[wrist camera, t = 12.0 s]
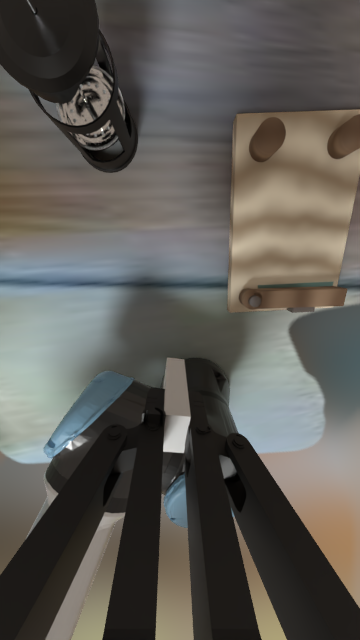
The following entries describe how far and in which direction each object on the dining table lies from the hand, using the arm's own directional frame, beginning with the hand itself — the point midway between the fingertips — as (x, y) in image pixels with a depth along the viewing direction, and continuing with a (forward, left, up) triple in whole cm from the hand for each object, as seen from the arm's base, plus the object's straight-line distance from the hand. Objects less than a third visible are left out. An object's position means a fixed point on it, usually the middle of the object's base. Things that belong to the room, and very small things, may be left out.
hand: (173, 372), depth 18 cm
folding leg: (+2, -21, -21) cm, 30 cm away
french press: (+28, +9, -24) cm, 38 cm away
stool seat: (+14, -21, -23) cm, 34 cm away
